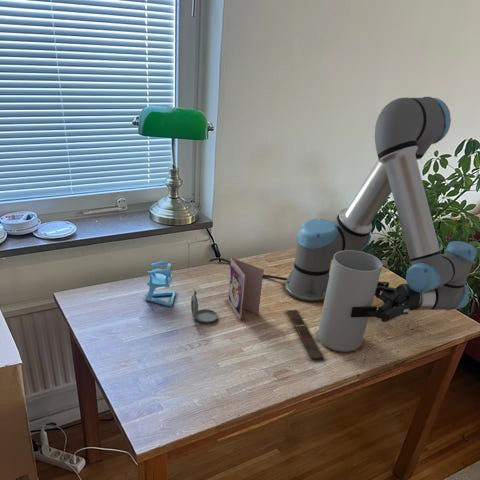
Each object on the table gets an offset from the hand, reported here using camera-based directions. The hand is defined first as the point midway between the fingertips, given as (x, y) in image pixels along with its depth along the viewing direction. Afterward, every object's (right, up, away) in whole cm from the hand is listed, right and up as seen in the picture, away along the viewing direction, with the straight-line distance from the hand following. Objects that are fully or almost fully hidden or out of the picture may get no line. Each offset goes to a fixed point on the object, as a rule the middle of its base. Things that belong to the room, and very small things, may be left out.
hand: (342, 298), depth 127 cm
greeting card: (-27, -3, +18) cm, 32 cm away
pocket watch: (-39, -5, +12) cm, 41 cm away
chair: (-52, +1, +19) cm, 55 cm away
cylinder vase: (+1, -12, +8) cm, 14 cm away
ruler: (-9, -10, +8) cm, 16 cm away
